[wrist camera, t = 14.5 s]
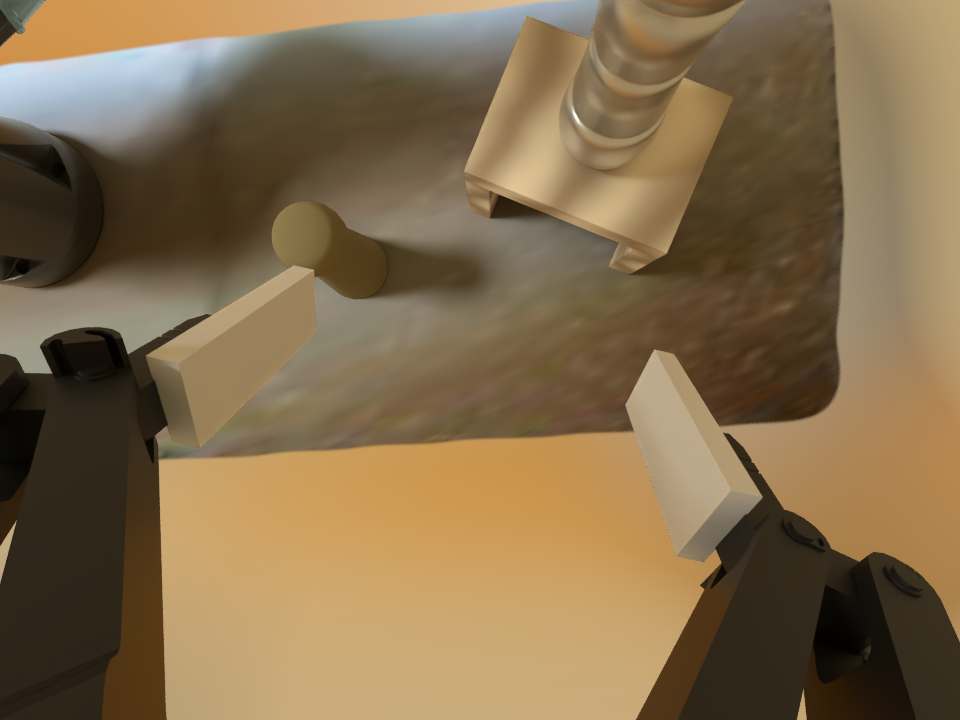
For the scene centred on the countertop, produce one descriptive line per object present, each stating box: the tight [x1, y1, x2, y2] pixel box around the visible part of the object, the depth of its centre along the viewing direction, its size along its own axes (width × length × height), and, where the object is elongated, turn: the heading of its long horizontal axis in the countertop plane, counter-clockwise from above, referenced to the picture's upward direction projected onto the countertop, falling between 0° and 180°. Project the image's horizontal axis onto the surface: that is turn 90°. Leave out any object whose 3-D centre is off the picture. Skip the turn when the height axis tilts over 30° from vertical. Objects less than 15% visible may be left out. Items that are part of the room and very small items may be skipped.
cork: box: [272, 201, 388, 299], centre depth 32 cm, size 6×6×11 cm
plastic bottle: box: [559, 0, 747, 170], centre depth 18 cm, size 6×7×20 cm
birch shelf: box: [464, 16, 734, 275], centre depth 32 cm, size 16×12×8 cm
